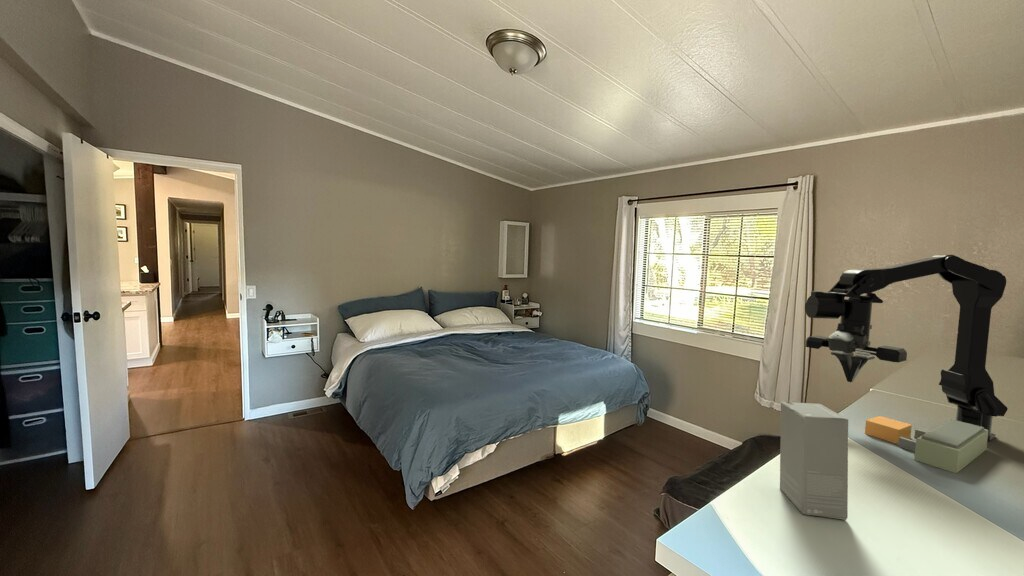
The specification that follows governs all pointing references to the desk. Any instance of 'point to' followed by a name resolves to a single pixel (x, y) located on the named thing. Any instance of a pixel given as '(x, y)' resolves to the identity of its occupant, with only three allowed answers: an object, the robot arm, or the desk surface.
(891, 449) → the desk surface
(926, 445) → the sage green lidded box
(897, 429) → the amber cuboid
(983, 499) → the desk surface
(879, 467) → the desk surface
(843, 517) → the skincare box
